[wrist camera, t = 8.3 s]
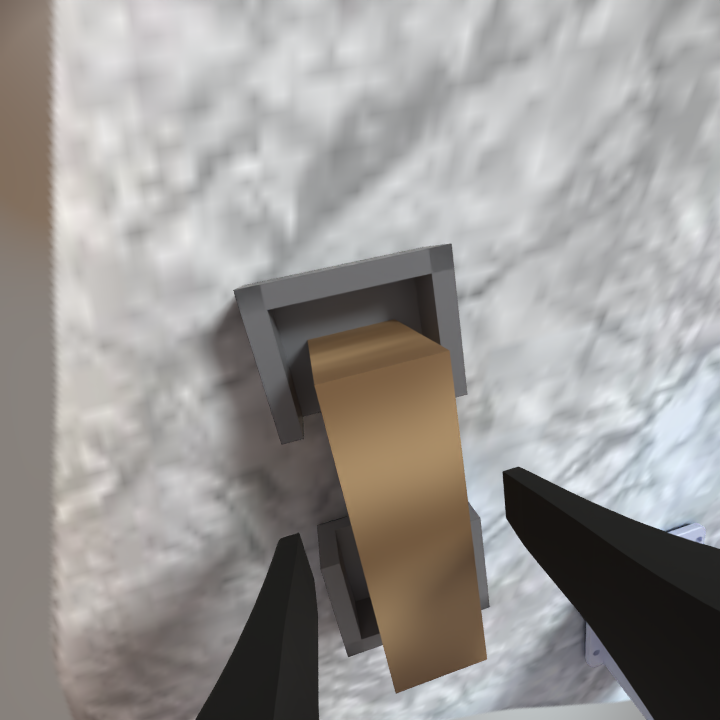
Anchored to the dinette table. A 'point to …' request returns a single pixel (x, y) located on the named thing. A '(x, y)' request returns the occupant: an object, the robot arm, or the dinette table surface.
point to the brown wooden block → (404, 493)
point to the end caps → (298, 395)
